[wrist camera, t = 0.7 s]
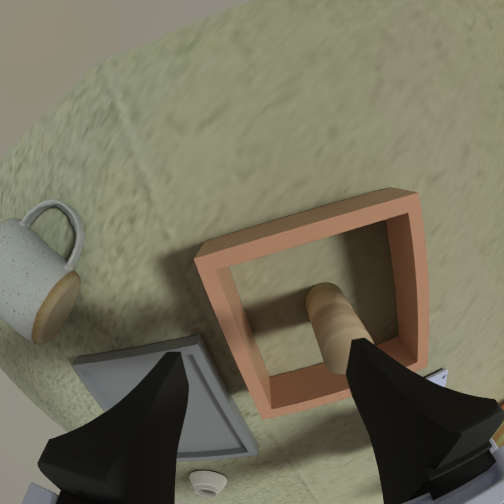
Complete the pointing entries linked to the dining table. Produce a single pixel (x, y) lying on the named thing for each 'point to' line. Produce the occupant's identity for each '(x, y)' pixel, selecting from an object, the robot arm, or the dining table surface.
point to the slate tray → (199, 399)
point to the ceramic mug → (37, 276)
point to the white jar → (207, 483)
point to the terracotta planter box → (304, 231)
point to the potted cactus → (499, 434)
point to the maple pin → (333, 324)
